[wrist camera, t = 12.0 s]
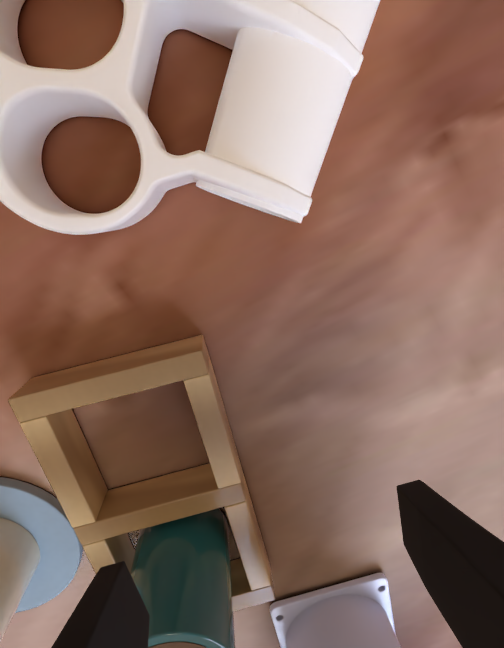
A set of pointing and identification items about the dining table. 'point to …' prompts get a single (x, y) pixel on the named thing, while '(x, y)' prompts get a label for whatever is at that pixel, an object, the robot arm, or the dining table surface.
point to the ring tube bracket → (230, 118)
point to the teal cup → (186, 582)
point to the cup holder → (154, 494)
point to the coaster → (42, 538)
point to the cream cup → (15, 568)
